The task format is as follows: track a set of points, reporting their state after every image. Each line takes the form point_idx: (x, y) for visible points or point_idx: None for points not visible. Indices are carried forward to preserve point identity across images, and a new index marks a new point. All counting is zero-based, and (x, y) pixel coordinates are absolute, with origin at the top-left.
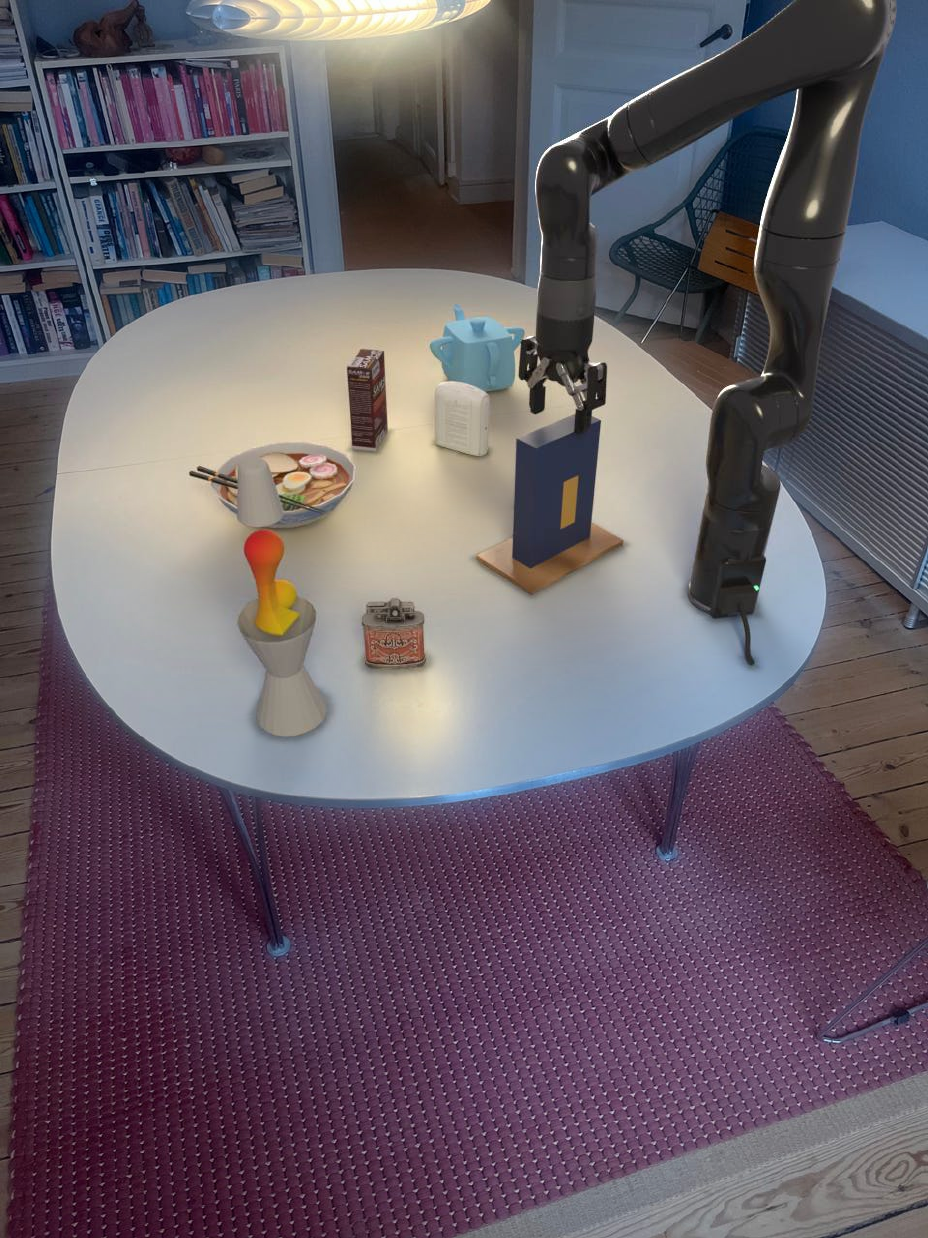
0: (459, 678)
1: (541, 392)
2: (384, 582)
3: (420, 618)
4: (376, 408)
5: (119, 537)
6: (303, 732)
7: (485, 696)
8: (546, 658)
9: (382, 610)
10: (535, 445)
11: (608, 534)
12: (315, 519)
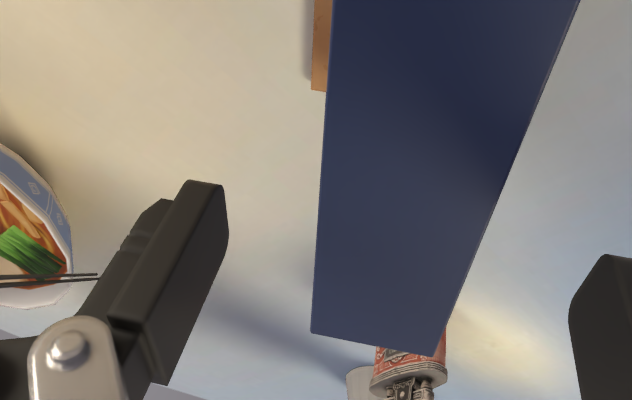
0: (508, 303)
1: (169, 314)
2: (257, 216)
3: (441, 377)
4: None
5: None
6: None
7: (564, 312)
8: (620, 227)
9: None
10: (413, 345)
11: None
12: (68, 222)
